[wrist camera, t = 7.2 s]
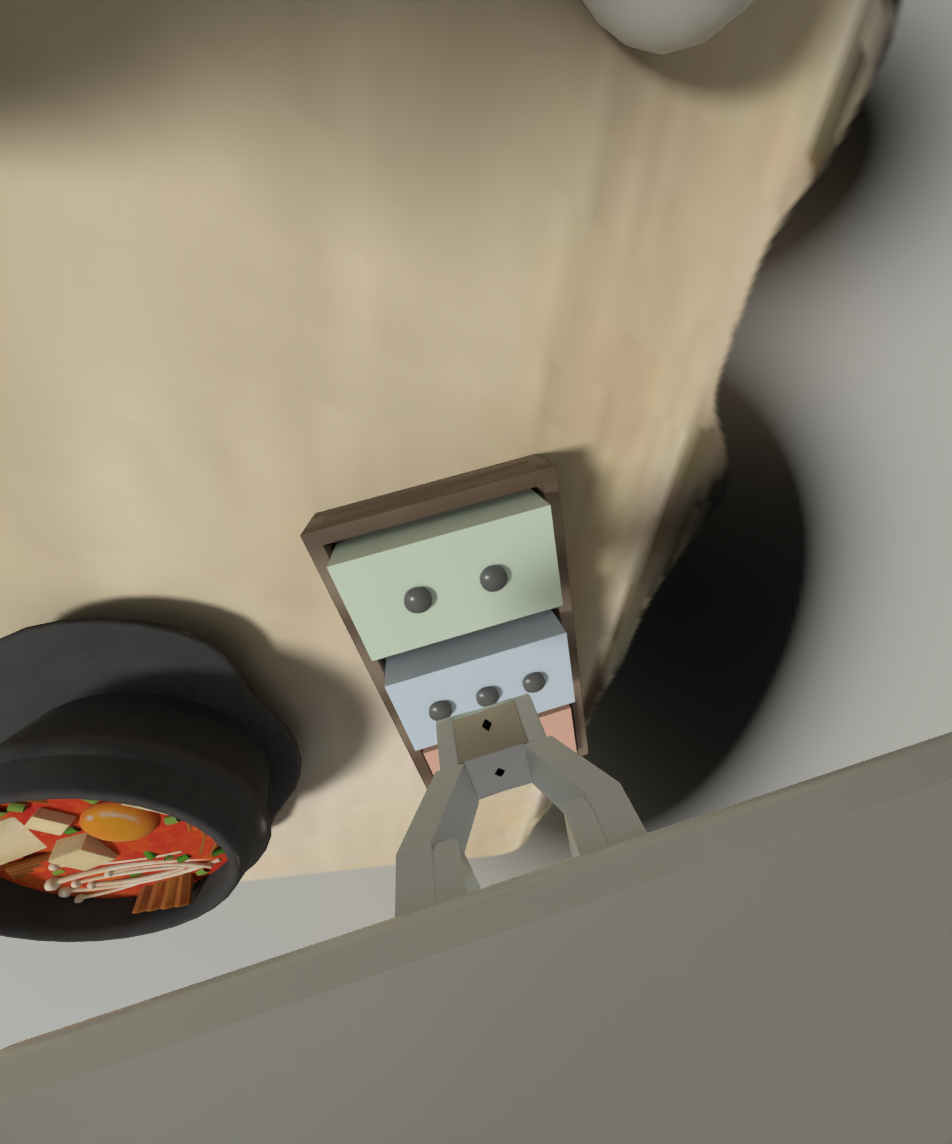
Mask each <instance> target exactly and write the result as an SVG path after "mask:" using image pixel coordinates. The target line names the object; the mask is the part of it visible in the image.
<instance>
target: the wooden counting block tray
mask: <svg viewBox="0 0 952 1144" xmlns="http://www.w3.org/2000/svg"><path fill="white" fill-rule="evenodd" d="M526 489H532V490H533V491H534V492H535V493H537V494H538V495H539V496H540V497H541V498H543V499H544V500H545V501H546V502H548V503H549V504H550V505H551V513H552V521H553V529H554V537H555V545H556V553H557V561H558V569H559V577H560V585H561V593H562V601H563V605H562V606H559V607H555V608H552V609H548V610H552V611H553V613H554V614H555V616H556V617H557V619H558V620H559V622H560V623H561V625H562V626H563V628H564V630H565V631H566V633H567V640H568V648H569V656H570V664H571V672H572V680H573V688H574V696H575V702H573V703H570V704H569V706H570V707H571V714H572V721H573V728H574V736H575V743H576V750H577V754H579V755H580V756H583V755H586V754H588V747H587V738H586V729H585V721H584V712H583V703H582V694H581V685H580V676H579V667H578V658H577V649H576V640H575V631H574V622H573V613H572V604H571V595H570V586H569V577H568V568H567V559H566V550H565V541H564V532H563V523H562V514H561V505H560V496H559V487H558V478H557V469H556V465H554V464H552V463H550V462H548V461H546V460H544V459H543V458H541V457H539V456H537V455H535V454H534V455H530V456H526V457H523V458H519V459H515V460H512V461H508V462H504V463H501V464H497V465H493V466H489V467H486V468H482V469H478V470H475V471H471V472H467V473H463V474H460V475H456V476H452V477H449V478H445V479H441V480H438V481H434V482H430V483H426V484H423V485H419V486H415V487H412V488H408V489H404V490H401V491H397V492H393V493H389V494H386V495H382V496H378V497H375V498H371V499H367V500H363V501H360V502H356V503H352V504H349V505H345V506H341V507H338V508H334V509H330V510H326V511H323V512H319V513H315V514H314V516H313V517H312V519H311V520H310V522H309V523H308V525H307V526H306V528H305V529H304V531H303V532H302V534H301V535H300V536H301V538H302V540H303V542H304V544H305V546H306V548H307V550H308V552H309V554H310V556H311V558H312V560H313V562H314V564H315V566H316V568H317V570H318V572H319V574H320V576H321V578H322V580H323V582H324V584H325V586H326V588H327V590H328V592H329V594H330V596H331V598H332V600H333V602H334V604H335V606H336V608H337V610H338V612H339V614H340V616H341V618H342V620H343V622H344V624H345V626H346V628H347V630H348V632H349V634H350V636H351V638H352V640H353V642H354V644H355V646H356V648H357V650H358V652H359V654H360V656H361V658H362V660H363V662H364V664H365V666H366V668H367V670H368V672H369V674H370V676H371V678H372V680H373V682H374V684H375V686H376V688H377V690H378V692H379V694H380V696H381V698H382V700H383V702H384V704H385V706H386V708H387V710H388V712H389V714H390V716H391V718H392V720H393V722H394V724H395V726H396V728H397V730H398V732H399V734H400V736H401V738H402V740H403V742H404V744H405V746H406V748H407V750H408V752H409V754H410V756H411V758H412V760H413V762H414V764H415V766H416V768H417V770H418V772H419V774H420V776H421V778H422V780H423V782H424V784H425V786H426V788H427V789H428V787H429V785H430V782H431V780H432V778H433V776H434V775H433V773H432V771H431V769H430V767H429V765H428V762H427V760H426V758H425V756H424V754H423V749H420V750H417V751H415V749H414V747H413V745H412V743H411V741H410V739H409V737H408V735H407V733H406V730H405V728H404V726H403V724H402V722H401V720H400V718H399V716H398V714H397V712H396V710H395V708H394V706H393V704H392V702H391V699H390V697H389V695H388V693H387V691H386V689H385V687H384V685H385V669H386V658H387V657H385V658H381V659H378V660H375V661H372V660H371V658H370V656H369V654H368V652H367V650H366V648H365V646H364V644H363V642H362V640H361V637H360V635H359V633H358V631H357V629H356V627H355V625H354V623H353V621H352V619H351V617H350V615H349V613H348V611H347V609H346V606H345V604H344V602H343V600H342V598H341V596H340V594H339V592H338V590H337V588H336V586H335V584H334V582H333V580H332V578H331V575H330V573H329V571H328V569H327V565H328V562H329V560H330V558H331V555H332V553H333V550H334V548H335V546H336V543H337V541H340V540H344V539H348V538H351V537H355V536H359V535H362V534H366V533H369V532H373V531H377V530H380V529H384V528H388V527H391V526H395V525H399V524H402V523H406V522H409V521H413V520H417V519H420V518H424V517H428V516H431V515H435V514H439V513H442V512H446V511H449V510H453V509H457V508H460V507H464V506H468V505H471V504H475V503H479V502H482V501H486V500H490V499H493V498H497V497H500V496H504V495H508V494H511V493H515V492H519V491H522V490H526ZM548 610H545V611H548ZM542 612H544V611H542ZM538 613H541V612H538ZM535 614H537V613H535ZM531 615H534V614H531ZM528 616H530V615H528ZM524 617H527V616H524ZM524 617H521V618H524ZM518 619H520V618H518ZM514 620H517V619H514ZM511 621H513V620H511ZM507 622H510V621H507ZM507 622H504V623H507ZM501 624H503V623H501ZM497 625H500V624H497ZM494 626H496V625H494ZM490 627H493V626H490ZM490 627H487V628H490ZM484 629H486V628H484ZM480 630H483V629H480ZM477 631H479V630H477ZM473 632H476V631H473ZM473 632H470V633H473ZM467 634H469V633H467ZM463 635H466V634H463ZM460 636H462V635H460ZM456 637H459V636H456ZM456 637H453V638H456ZM450 639H452V638H450ZM446 640H449V639H446ZM443 641H445V640H443ZM439 642H442V641H439ZM439 642H436V643H439ZM432 644H435V643H432ZM432 644H429V645H432ZM426 646H428V645H426ZM422 647H425V646H422ZM422 647H419V648H422ZM415 649H418V648H415ZM415 649H412V650H415ZM409 651H411V650H409ZM405 652H408V651H405ZM402 653H404V652H402ZM398 654H401V653H398ZM398 654H395V655H398ZM392 656H394V655H392ZM388 657H391V656H388Z"/></svg>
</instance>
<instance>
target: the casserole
mask: <svg viewBox="0 0 952 1144" xmlns="http://www.w3.org/2000/svg"><path fill="white" fill-rule="evenodd" d="M300 773H301V756H300V753H299V749H298V745H297V742H296V740H295V739H294V737H293V735H292V734H291V732H290V730H289V729H288V727H287V726H286V725H285V724H284V723H283V722H282V721H281V720H280V719H279V718H278V717H277V716H276V715H275V714H274V713H273V712H272V711H271V710H270V709H269V708H268V707H267V706H266V705H265V704H264V703H263V702H262V701H261V700H260V699H259V698H258V697H257V696H256V695H255V694H254V693H253V692H252V690H251V689H250V687H249V685H248V684H247V682H246V681H245V679H244V677H243V676H242V674H241V673H240V671H239V670H238V669H237V667H236V666H235V664H234V663H233V662H232V660H231V659H230V658H229V656H228V655H227V653H226V652H224V651H223V650H221V649H220V648H218V647H217V646H215V645H214V644H212V643H211V642H209V641H208V640H206V639H205V638H202V637H199V636H196V635H194V634H191V633H188V632H185V631H182V630H180V629H177V628H172V627H168V626H163V625H158V624H153V623H148V622H143V621H135V620H122V619H110V618H88V619H72V620H59V621H54V622H50V623H45V624H40V625H35V626H31V627H26V628H24V629H21V630H19V631H17V632H15V633H12V634H10V635H8V636H5V637H3V638H1V639H0V935H1V936H6V937H12V938H20V939H28V940H36V941H56V942H85V941H104V940H113V939H121V938H129V937H134V936H139V935H144V934H150V933H154V932H158V931H161V930H165V929H168V928H172V927H175V926H178V925H180V924H183V923H185V922H188V921H190V920H193V919H195V918H198V917H199V916H201V915H203V914H205V913H206V912H208V911H210V910H212V909H213V908H215V907H216V906H217V905H219V904H220V903H221V902H222V901H223V900H225V899H226V898H227V897H228V896H229V895H230V893H231V892H232V891H233V890H234V888H235V887H236V885H237V884H238V883H239V881H240V879H241V878H242V876H243V875H244V873H245V872H246V871H247V870H248V869H250V868H251V867H252V866H253V865H254V864H256V862H257V861H258V860H259V858H260V857H261V856H262V854H263V853H264V852H265V850H266V848H267V846H268V843H269V840H270V837H271V825H272V822H273V820H274V817H275V815H276V814H277V813H278V811H279V810H280V809H281V807H282V806H283V805H284V803H285V802H286V801H287V799H288V798H289V797H290V795H291V794H292V793H293V791H294V790H295V788H296V785H297V782H298V780H299V777H300Z"/></svg>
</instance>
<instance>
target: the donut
mask: <svg viewBox="0 0 952 1144" xmlns="http://www.w3.org/2000/svg"><path fill="white" fill-rule="evenodd" d="M582 1H583V3H584V4H585V6H586V7H587V9H588V10H589V12H590V13H591V14H592V16H593V17H594V19H595V20H596V22H597V23H598V24H599V25H600V26H602V27H603V28H604V29H605V30H607V31H608V32H609V33H610V34H612V35H613V36H614V37H615V38H617V39H618V40H619V41H620V42H622V43H623V44H624V45H626V46H629V47H632V48H636V49H640V50H644V51H648V52H652V53H656V54H660V55H664V54H667V53H671V52H675V51H678V50H682V49H686V48H689V47H693V46H696V45H699V44H701V43H703V42H705V41H708V40H709V39H710V38H711V37H713V36H714V35H715V34H716V33H717V32H719V31H720V30H721V29H722V28H724V27H725V26H726V25H727V24H729V23H730V22H731V21H732V20H733V19H735V18H736V17H737V16H738V15H740V14H741V13H742V12H743V11H745V10H746V9H747V8H748V7H749V6H750V5H751V4H752V3H753V2H754V1H755V0H582Z"/></svg>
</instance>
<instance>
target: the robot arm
mask: <svg viewBox="0 0 952 1144" xmlns="http://www.w3.org/2000/svg"><path fill="white" fill-rule="evenodd" d="M436 733H437V743H438V753H439V764H440V771H437V772H435V774H434V776H433V778H432V780H431V782H430V785H429V787H428V789H427V791H426V793H425V795H424V797H423V799H422V801H421V804H420V806H419V808H418V810H417V812H416V814H415V816H414V818H413V820H412V823H411V825H410V827H409V829H408V831H407V833H406V835H405V837H404V839H403V842H402V844H401V846H400V848H399V850H398V852H397V854H396V897H395V917H394V918H391V919H389V920H385V921H382V922H379V923H377V924H373V925H370V926H367V927H364V928H361V929H358V930H355V931H352V932H349V933H346V934H343V935H340V936H337V937H334V938H332V939H328V940H326V941H322V942H319V943H316V944H313V945H310V946H307V947H304V948H301V949H298V950H295V951H292V952H289V953H286V954H283V955H280V956H278V957H274V958H271V959H268V960H265V961H262V962H259V963H256V964H253V965H250V966H247V967H244V968H241V969H239V970H236V971H232V972H229V973H226V974H223V975H220V976H217V977H214V978H212V979H208V980H206V981H203V982H200V983H196V984H193V985H190V986H187V987H184V988H181V989H178V990H175V991H172V992H169V993H166V994H163V995H160V996H157V997H154V998H151V999H148V1000H145V1001H142V1002H139V1003H136V1004H133V1005H130V1006H127V1007H124V1008H121V1009H118V1010H115V1011H112V1012H109V1013H106V1014H103V1015H100V1016H97V1017H94V1018H91V1019H88V1020H85V1021H82V1022H79V1023H76V1024H73V1025H70V1026H67V1027H64V1028H61V1029H58V1030H55V1031H52V1032H49V1033H46V1034H42V1035H40V1036H36V1037H33V1038H30V1039H27V1040H24V1041H21V1042H19V1043H16V1044H13V1045H10V1046H8V1047H6V1048H4V1049H2V1050H0V1144H952V732H950V733H947V734H944V735H941V736H938V737H935V738H932V739H929V740H926V741H923V742H920V743H917V744H914V745H911V746H908V747H905V748H902V749H899V750H896V751H893V752H890V753H887V754H884V755H881V756H878V757H875V758H872V759H869V760H866V761H863V762H860V763H857V764H854V765H851V766H848V767H845V768H842V769H839V770H836V771H833V772H830V773H827V774H824V775H821V776H818V777H815V778H812V779H809V780H806V781H803V782H800V783H797V784H794V785H791V786H788V787H785V788H782V789H779V790H776V791H773V792H770V793H767V794H764V795H761V796H758V797H755V798H752V799H749V800H746V801H743V802H740V803H737V804H734V805H731V806H728V807H725V808H722V809H719V810H716V811H713V812H710V813H707V814H704V815H701V816H698V817H695V818H692V819H689V820H686V821H683V822H680V823H677V824H674V825H671V826H668V827H665V828H662V829H659V830H656V831H653V832H650V833H647V832H646V830H645V829H644V827H643V825H642V823H641V821H640V819H639V818H638V816H637V814H636V812H635V810H634V808H633V806H632V805H631V803H630V801H629V799H628V797H627V795H626V794H625V792H624V790H623V788H622V786H621V785H620V783H619V782H617V781H616V780H615V779H613V778H612V777H610V776H609V775H607V774H606V773H604V772H603V771H602V770H600V769H599V768H597V767H596V766H594V765H593V764H591V763H590V762H589V761H587V760H585V759H584V758H583V757H582V756H580V755H579V754H577V753H576V752H574V751H573V750H571V749H570V748H569V747H567V746H566V745H564V744H563V743H561V742H560V741H559V740H557V739H556V738H554V737H553V736H548V737H547V736H546V734H545V731H544V729H543V726H542V724H541V721H540V719H539V716H538V714H537V712H536V709H535V707H534V704H533V702H532V699H531V697H530V695H529V694H524V695H521V696H518V697H515V698H510V699H507V700H504V701H501V702H498V703H495V704H492V705H489V706H485V707H483V708H481V709H477V710H473V711H470V712H466V713H463V714H459V715H455V716H452V717H449V718H445V719H442V720H438V721H436ZM529 783H533V784H534V785H535V786H536V787H537V788H538V789H539V790H540V791H541V792H542V793H543V794H544V795H545V796H547V797H548V798H549V799H550V800H551V801H552V802H553V803H554V804H555V805H556V806H557V807H558V808H559V809H560V810H561V811H562V812H563V813H564V815H565V821H566V826H567V832H568V837H569V843H570V849H571V854H572V857H573V858H572V859H568V860H565V861H563V862H560V863H557V864H553V865H550V866H547V867H544V868H541V869H538V870H535V871H533V872H530V873H526V874H524V875H520V876H518V877H514V878H511V879H509V880H506V881H502V882H499V883H496V884H493V885H491V886H487V887H484V888H482V889H480V885H479V883H478V881H477V879H476V877H475V874H474V872H473V871H472V868H471V866H470V864H469V862H468V860H467V858H466V856H465V854H464V852H465V849H466V845H467V842H468V838H469V835H470V831H471V828H472V824H473V821H474V817H475V814H476V810H477V807H478V803H479V801H478V800H479V799H482V798H485V797H488V796H491V795H494V794H496V793H499V792H502V791H505V790H508V789H512V788H515V787H519V786H522V785H526V784H529Z"/></svg>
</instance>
